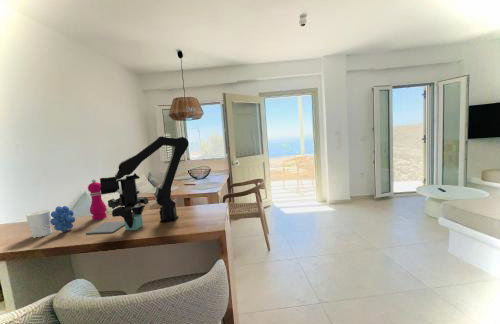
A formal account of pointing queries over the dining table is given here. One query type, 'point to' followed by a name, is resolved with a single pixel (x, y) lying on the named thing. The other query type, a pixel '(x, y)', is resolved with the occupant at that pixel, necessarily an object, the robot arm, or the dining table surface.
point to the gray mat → (107, 228)
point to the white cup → (39, 223)
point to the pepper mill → (96, 201)
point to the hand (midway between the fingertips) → (134, 225)
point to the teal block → (135, 223)
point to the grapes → (62, 218)
